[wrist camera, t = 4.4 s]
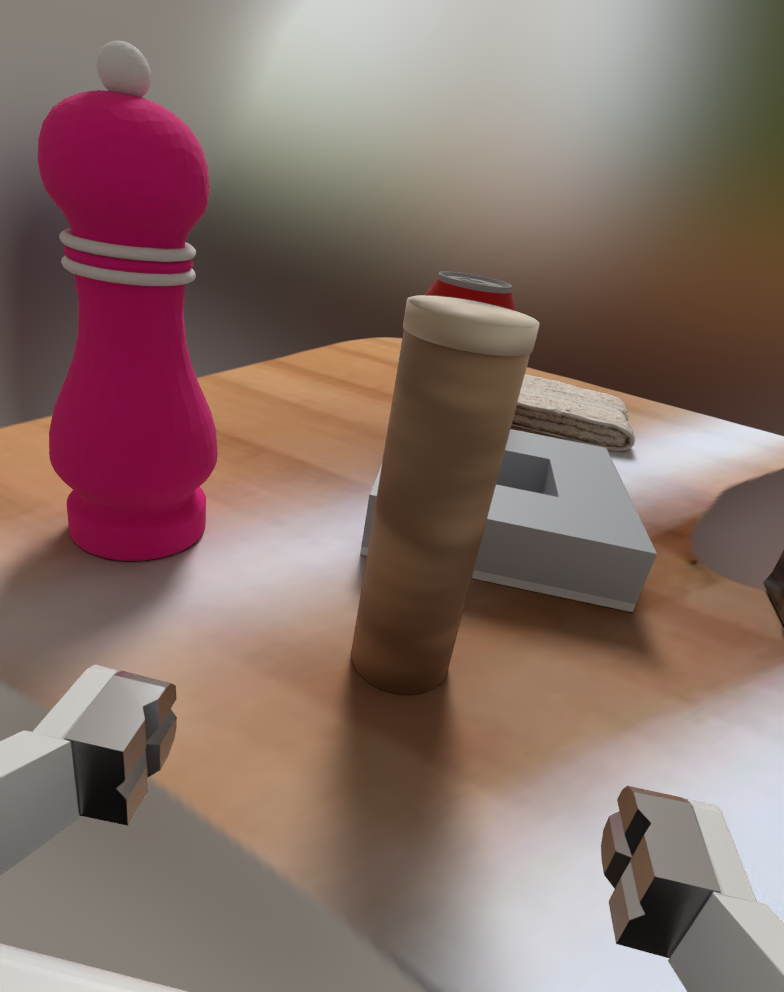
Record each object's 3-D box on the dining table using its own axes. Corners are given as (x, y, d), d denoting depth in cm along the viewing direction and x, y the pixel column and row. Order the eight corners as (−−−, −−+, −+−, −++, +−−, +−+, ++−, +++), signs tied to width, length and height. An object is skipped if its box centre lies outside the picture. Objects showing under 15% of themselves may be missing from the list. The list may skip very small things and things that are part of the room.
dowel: (451, 636, 27) (534, 312, 20) (445, 705, 23) (544, 336, 17) (360, 617, 27) (414, 289, 21) (340, 682, 23) (399, 309, 17)
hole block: (590, 493, 43) (606, 447, 42) (632, 612, 31) (657, 553, 29) (396, 454, 44) (404, 408, 42) (360, 554, 31) (369, 494, 30)
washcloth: (451, 380, 66) (457, 352, 64) (621, 419, 63) (631, 390, 61) (427, 412, 55) (433, 378, 54) (629, 460, 52) (642, 426, 51)
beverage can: (443, 457, 45) (478, 288, 40) (384, 424, 49) (409, 267, 44) (501, 444, 49) (541, 290, 44) (442, 415, 53) (472, 271, 48)
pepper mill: (122, 589, 26) (91, 11, 17) (25, 524, 29) (-43, 6, 20) (245, 530, 32) (270, 73, 23) (153, 481, 35) (144, 61, 26)
